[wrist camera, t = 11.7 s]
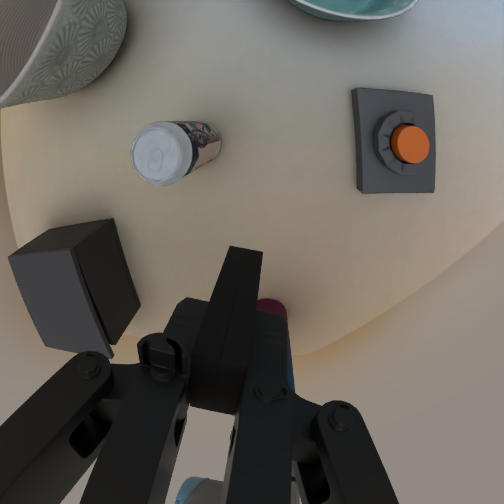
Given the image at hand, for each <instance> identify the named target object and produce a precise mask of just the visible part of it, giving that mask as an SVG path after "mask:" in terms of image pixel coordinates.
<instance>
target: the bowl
mask: <svg viewBox="0 0 504 504" xmlns="http://www.w3.org/2000/svg"><path fill="white" fill-rule="evenodd" d="M289 1H290V2H291V3H292V4H294V5H295V6H296V7H298V8H299V9H301V10H303V11H305V12H307V13H309V14H311V15H314V16H316V17H320V18H323V19H327V20H333V21H368V20H381V19H388V18H392V17H396V16H399V15H401V14H403V13H405V12H407V11H409V10H410V9H411V8H413V7H414V6H415V5H416V3H417V2H418V1H419V0H289Z"/></svg>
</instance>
